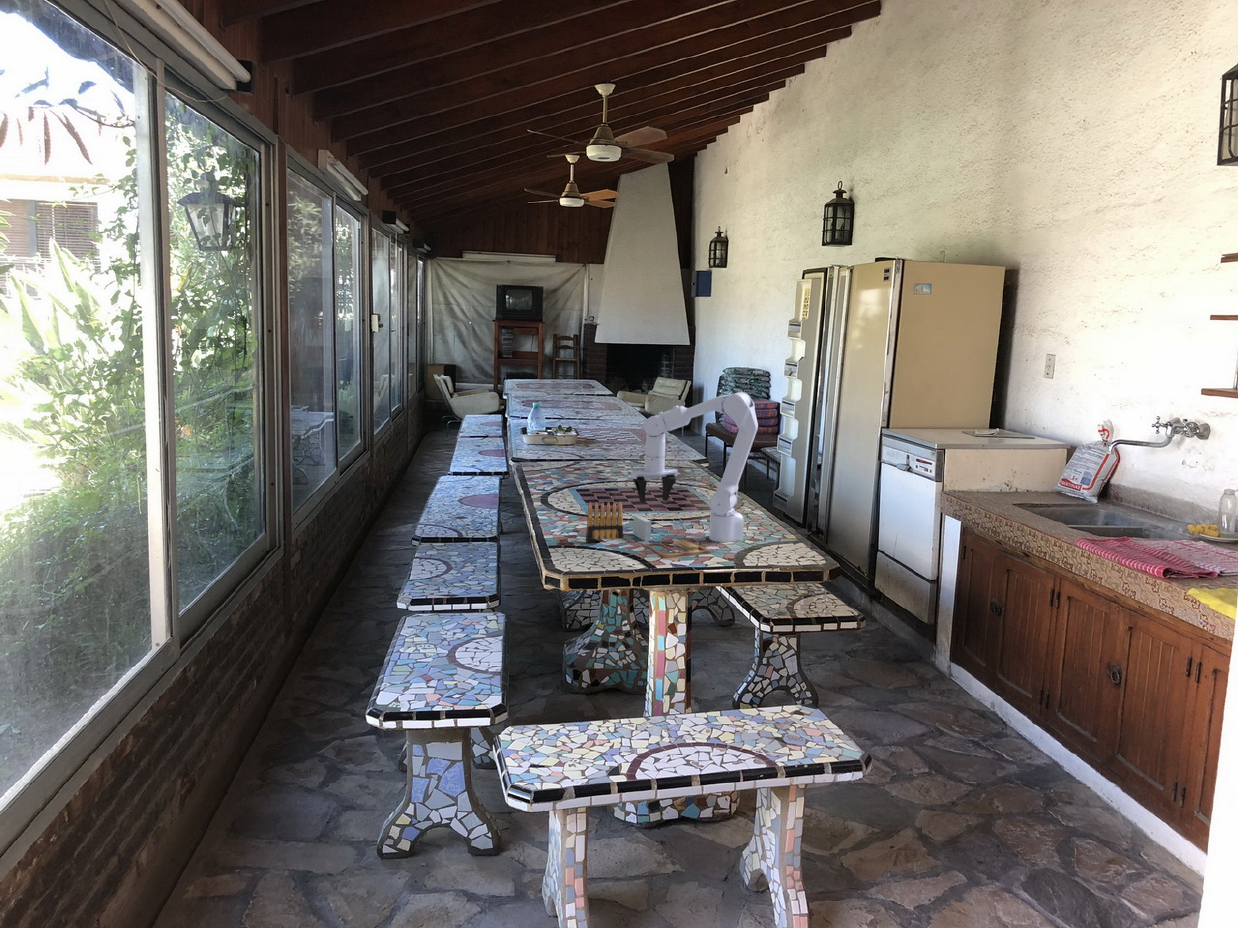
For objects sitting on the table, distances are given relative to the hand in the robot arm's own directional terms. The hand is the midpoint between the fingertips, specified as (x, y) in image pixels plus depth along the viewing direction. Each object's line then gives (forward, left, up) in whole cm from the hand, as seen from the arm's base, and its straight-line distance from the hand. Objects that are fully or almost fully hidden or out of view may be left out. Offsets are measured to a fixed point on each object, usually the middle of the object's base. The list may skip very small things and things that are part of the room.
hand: (653, 500), depth 258 cm
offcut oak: (-1, +19, -9) cm, 21 cm away
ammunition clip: (+17, +3, -11) cm, 20 cm away
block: (+7, +6, -10) cm, 14 cm away
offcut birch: (-1, +20, -10) cm, 22 cm away
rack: (+3, +20, -10) cm, 23 cm away
